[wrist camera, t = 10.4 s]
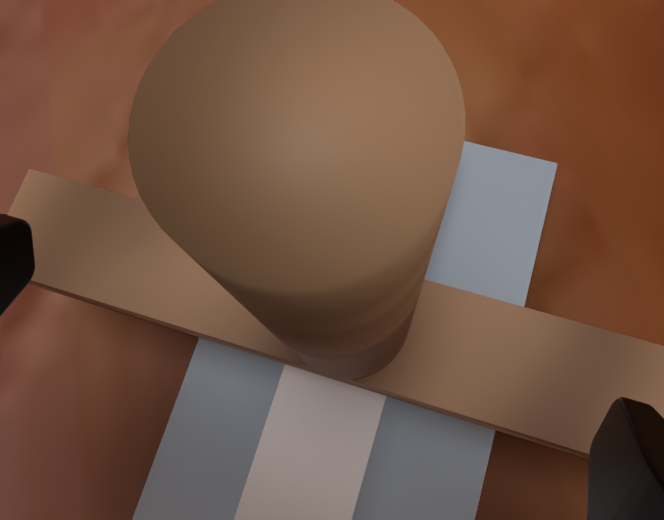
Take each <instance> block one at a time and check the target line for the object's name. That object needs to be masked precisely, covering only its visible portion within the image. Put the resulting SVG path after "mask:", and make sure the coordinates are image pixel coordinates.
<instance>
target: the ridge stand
mask: <svg viewBox="0 0 664 520" xmlns="http://www.w3.org/2000/svg"><path fill="white" fill-rule="evenodd" d="M557 164H558V163H554V162H549V161H545V160H541V159H537V158H533V157H529V156H525V155H520V154H516V153H512V152H508V151H504V150H500V149H495V148H491V147H487V146H483V145H479V144H475V143H471V142H466V141H464V145H463V149H462V154H461V159H460V163H459V166H458V169H457V173H456V176H455V179H454V183H453V186H452V189H451V192H450V196H449V199H448V202H447V206H446V209H445V212H444V215H443V219H442V222H441V225H440V229H439V232H438V235H437V239H436V242H435V245H434V248H433V252H432V255H431V258H430V262H429V265H428V268H427V271H426V275H425V278H424V279H426V280H429V281H433V282H437V283H440V284H444V285H447V286H451V287H454V288H458V289H462V290H465V291H469V292H472V293H476V294H479V295H483V296H487V297H490V298H494V299H497V300H501V301H504V302H508V303H512V304H515V305H519V306H522V307H524V306H525V301H526V297H527V293H528V288H529V284H530V280H531V275H532V271H533V267H534V263H535V258H536V254H537V250H538V245H539V241H540V237H541V232H542V228H543V224H544V220H545V215H546V211H547V207H548V202H549V198H550V194H551V189H552V185H553V181H554V177H555V172H556V168H557ZM494 434H495V430H493V429H490V428H487V427H484V426H480V425H477V424H474V423H471V422H468V421H464V420H461V419H458V418H455V417H452V416H449V415H445V414H442V413H439V412H436V411H433V410H429V409H426V408H423V407H420V406H417V405H413V404H410V403H407V402H404V401H401V400H397V399H394V398H391V397H388V396H385V395H381V394H378V393H375V392H372V391H369V390H365V389H362V388H359V387H356V386H353V385H349V384H346V383H343V382H340V381H337V380H334V379H330V378H327V377H324V376H321V375H318V374H314V373H311V372H308V371H305V370H302V369H298V368H295V367H292V366H289V365H286V364H282V363H279V362H276V361H273V360H270V359H266V358H263V357H260V356H257V355H254V354H250V353H247V352H244V351H241V350H238V349H234V348H231V347H228V346H225V345H222V344H218V343H215V342H212V341H209V340H206V339H203V338H199V340H198V342H197V345H196V348H195V351H194V353H193V356H192V359H191V361H190V364H189V367H188V369H187V372H186V375H185V378H184V380H183V383H182V386H181V388H180V391H179V394H178V397H177V399H176V402H175V405H174V407H173V410H172V413H171V416H170V418H169V421H168V424H167V426H166V429H165V432H164V434H163V437H162V440H161V443H160V445H159V448H158V451H157V453H156V456H155V459H154V462H153V464H152V467H151V470H150V472H149V475H148V478H147V480H146V483H145V486H144V489H143V491H142V494H141V497H140V499H139V502H138V505H137V508H136V510H135V513H134V516H133V518H132V520H475V516H476V512H477V508H478V503H479V499H480V495H481V490H482V486H483V482H484V477H485V473H486V469H487V465H488V460H489V456H490V452H491V447H492V443H493V439H494Z"/></svg>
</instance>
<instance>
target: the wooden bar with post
mask: <svg viewBox="0 0 664 520" xmlns="http://www.w3.org/2000/svg"><path fill="white" fill-rule="evenodd" d="M465 122H466V117H465V107H464V98H463V94H462V90H461V86H460V82H459V78H458V76H457V73H456V71H455V69H454V66H453V64H452V61H451V60H450V58H449V56H448V54H447V53H446V51H445V49H444V48H443V46H442V44H441V43H440V42H439V41H438V39H437V38H436V37H435V36H434V34H433V33H432V32H431V31H430V29H429V28H428V27H427V26H426V25H425V24H423V23H422V22H421V21H420V20H419V19H418V18H417V17H416V16H415V15H414V14H412V13H411V12H410V11H408V10H407V9H405V8H404V7H403V6H401V5H400V4H398V3H397V2H395V1H393V0H217V1H216V2H214V3H212V4H210V5H208V6H206V7H205V8H204V9H202V10H201V11H199V12H198V13H196V14H195V15H194V16H192V17H191V18H189V19H188V20H187V21H186V22H185V23H184V24H183V25H182V26H180V27H179V28H178V29H177V30H176V31H175V32H174V33H173V34H172V35H171V36H170V37H169V39H168V40H167V41H166V42H165V43H164V44H163V45H162V46H161V48H160V49H159V51H158V52H157V54H156V55H155V56H154V58H153V59H152V61H151V62H150V64H149V66H148V68H147V69H146V71H145V73H144V75H143V77H142V79H141V81H140V84H139V86H138V89H137V92H136V95H135V97H134V100H133V105H132V109H131V114H130V118H129V131H128V148H129V160H130V164H131V169H132V174H133V178H134V181H135V183H136V186H137V189H138V191H139V194H140V196H141V198H142V200H140V199H136V198H132V197H129V196H125V195H122V194H118V193H115V192H111V191H107V190H104V189H100V188H97V187H93V186H89V185H86V184H82V183H79V182H75V181H72V180H68V179H64V178H61V177H57V176H54V175H50V174H47V173H43V172H39V171H36V170H32V169H29V170H28V172H27V175H26V177H25V179H24V181H23V183H22V185H21V187H20V189H19V191H18V193H17V195H16V198H15V200H14V202H13V204H12V206H11V208H10V210H9V212H8V214H7V215H10V216H13V217H16V218H20V219H23V220H25V221H27V222H28V223H29V225H30V227H31V230H32V237H33V247H34V257H35V271H34V274H33V277H32V279H31V280H30V282H29V283H28V284H30V285H33V286H36V287H40V288H43V289H46V290H49V291H52V292H56V293H59V294H62V295H65V296H68V297H72V298H75V299H78V300H81V301H84V302H88V303H91V304H94V305H97V306H100V307H103V308H107V309H110V310H113V311H116V312H119V313H123V314H126V315H129V316H132V317H135V318H139V319H142V320H145V321H148V322H151V323H155V324H158V325H161V326H164V327H167V328H171V329H174V330H177V331H180V332H183V333H187V334H190V335H193V336H196V337H199V338H203V339H206V340H209V341H212V342H215V343H218V344H222V345H225V346H228V347H231V348H234V349H238V350H241V351H244V352H247V353H250V354H254V355H257V356H260V357H263V358H266V359H270V360H273V361H276V362H279V363H282V364H286V365H289V366H292V367H295V368H298V369H302V370H305V371H308V372H311V373H314V374H318V375H321V376H324V377H327V378H330V379H334V380H337V381H340V382H343V383H346V384H349V385H353V386H356V387H359V388H362V389H365V390H369V391H372V392H375V393H378V394H381V395H385V396H388V397H391V398H394V399H397V400H401V401H404V402H407V403H410V404H413V405H417V406H420V407H423V408H426V409H429V410H433V411H436V412H439V413H442V414H445V415H449V416H452V417H455V418H458V419H461V420H464V421H468V422H471V423H474V424H477V425H480V426H484V427H487V428H490V429H493V430H496V431H500V432H503V433H506V434H509V435H512V436H516V437H519V438H522V439H525V440H528V441H532V442H535V443H538V444H541V445H544V446H548V447H551V448H554V449H557V450H560V451H564V452H567V453H570V454H573V455H576V456H579V457H583V458H586V459H589V452H590V447H591V443H592V440H593V438H594V436H595V434H596V432H597V431H598V429H599V427H600V425H601V423H602V421H603V419H604V418H605V416H606V414H607V412H608V410H609V408H610V407H611V405H612V403H613V402H614V401H615V400H616V399H617V398H619V397H626V398H629V399H632V400H636V401H639V402H643V403H646V404H649V405H651V406H652V407H653V408H654V409H655V410H656V411H657V412H658V413H659V414H660V415H661V416H662V417H663V418H664V346H662V345H658V344H655V343H651V342H648V341H644V340H640V339H637V338H633V337H630V336H626V335H623V334H619V333H615V332H612V331H608V330H605V329H601V328H598V327H594V326H590V325H587V324H583V323H580V322H576V321H572V320H569V319H565V318H562V317H558V316H555V315H551V314H547V313H544V312H540V311H537V310H533V309H530V308H526V307H522V306H519V305H515V304H512V303H508V302H504V301H501V300H497V299H494V298H490V297H487V296H483V295H479V294H476V293H472V292H469V291H465V290H462V289H458V288H454V287H451V286H447V285H444V284H440V283H437V282H433V281H429V280H426V279H424V278H425V275H426V271H427V268H428V265H429V262H430V258H431V255H432V252H433V248H434V245H435V242H436V239H437V235H438V232H439V229H440V225H441V222H442V219H443V215H444V212H445V209H446V206H447V202H448V199H449V196H450V192H451V189H452V186H453V183H454V179H455V176H456V173H457V169H458V166H459V163H460V159H461V154H462V149H463V145H464V140H465Z"/></svg>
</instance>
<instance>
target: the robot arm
mask: <svg viewBox="0 0 664 520" xmlns="http://www.w3.org/2000/svg"><path fill="white" fill-rule="evenodd" d="M34 271H35V257H34V247H33V237H32V230H31V227H30V225H29V223H28V222H27V221H25V220H23V219H20V218H16V217H13V216H10V215H6V214H0V316H1V315H2V314H3V312H4V311H5V310H6V309H7V308H8V307H9V305H10V304H11V303H12V302H13V301H14V299H15V298H16V297H17V296H18V295H19V294H20V292H21V291H22V290H23V289H24V288H25V286H26V285H27V284H28V283H29V282H30V280H31V279H32V277H33V274H34ZM587 520H664V418H663V417H662V416H661V415H660V414H659V413H658V412H657V411H656V410H655V409H654V408H653V407H652V406H651V405H649V404H646V403H643V402H639V401H636V400H632V399H629V398H626V397H619V398H617V399H616V400H615V401H614V402H613V403H612V405H611V407H610V408H609V410H608V412H607V414H606V416H605V418H604V419H603V421H602V423H601V425H600V427H599V429H598V431H597V432H596V434H595V436H594V438H593V440H592V443H591V447H590V452H589V478H588V513H587Z"/></svg>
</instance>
